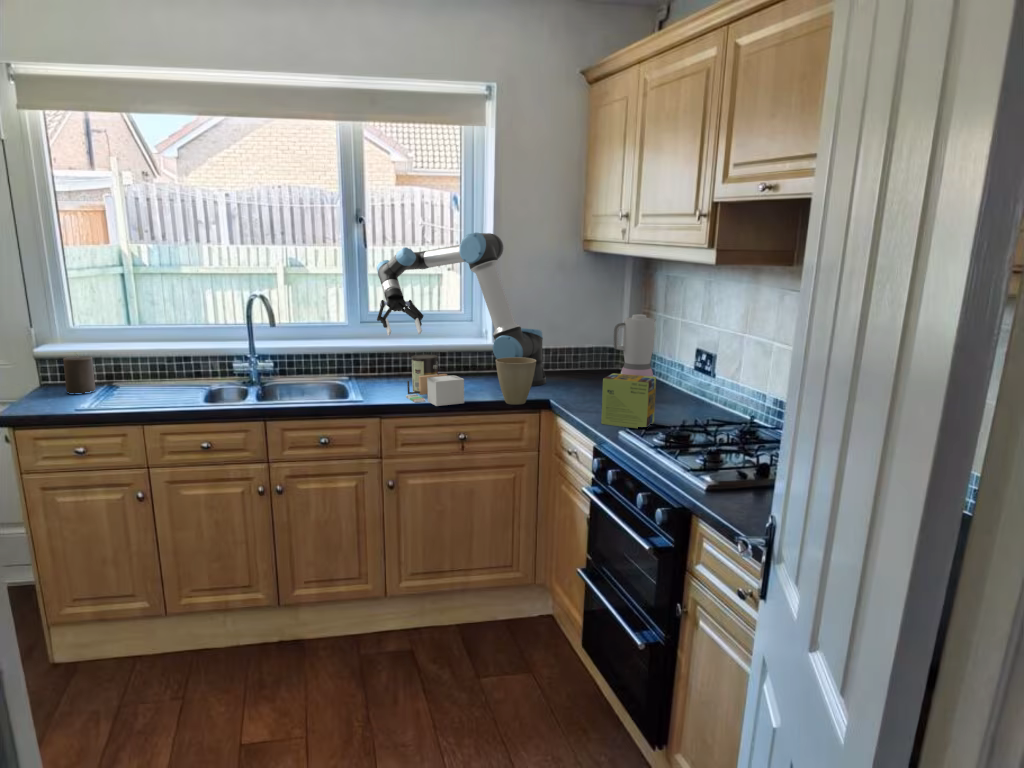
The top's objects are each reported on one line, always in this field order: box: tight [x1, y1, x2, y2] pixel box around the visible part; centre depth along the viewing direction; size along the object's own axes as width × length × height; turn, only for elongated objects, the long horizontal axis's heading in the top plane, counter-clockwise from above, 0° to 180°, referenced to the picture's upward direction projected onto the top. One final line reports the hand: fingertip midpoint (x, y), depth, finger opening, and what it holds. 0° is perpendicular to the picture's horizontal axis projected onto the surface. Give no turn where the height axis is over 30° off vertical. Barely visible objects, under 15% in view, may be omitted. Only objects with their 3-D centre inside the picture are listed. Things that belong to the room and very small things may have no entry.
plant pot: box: [495, 357, 536, 406], centre depth 256 cm, size 15×15×16 cm
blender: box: [613, 313, 657, 377], centre depth 260 cm, size 16×12×32 cm
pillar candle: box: [62, 354, 96, 393], centre depth 268 cm, size 10×10×15 cm
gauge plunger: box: [406, 373, 448, 396], centre depth 263 cm, size 16×8×7 cm, turn 118°
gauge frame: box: [405, 374, 465, 407], centre depth 259 cm, size 16×18×9 cm
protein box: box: [600, 372, 657, 429], centre depth 227 cm, size 10×15×16 cm
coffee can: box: [411, 353, 439, 395], centre depth 274 cm, size 10×10×14 cm
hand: (405, 333), depth 289 cm, fingers open, 13 cm apart
